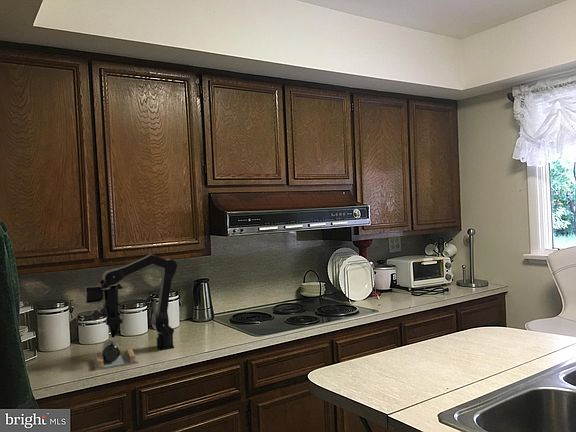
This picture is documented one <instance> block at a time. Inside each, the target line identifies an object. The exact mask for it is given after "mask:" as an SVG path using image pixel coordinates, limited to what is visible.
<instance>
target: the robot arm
mask: <svg viewBox="0 0 576 432" xmlns="http://www.w3.org/2000/svg"><path fill="white" fill-rule="evenodd" d="M151 265H154V266H157V267H160V269H159V271H160V277H161V283H160V288H159V295H158V302H157V309H156V311H155V313H151V321H150V323H151V326H152V328H153V329H154V330H155V331H156V333H157V337H155V341H156V342H155V344H156V348H158V350H160V351H161V350H167V349H168V348H169V349H173V348H175V346H174V336H173V335H174V332H175V329H174V328H172V327H171V326H170V321H169V320H170V319H169V314H168V313H169V312H168V309H169V302H170V296H171V295H170V294H171V288H172V281H173V279H174V276H175V275H176V273H177V269H178V263H177V262H176V260H174V259H170V258H165V259H164V258H161V257H160V256H157V255H155V254H152V253H149V254H147V255H146V256H144V257H141V258H140V259H137V260H135V261H133V262H131V263H128V264H126V265H123V266H121V267H117V268H112V269H108V270H106V271H104V272H103V274H102V277H101V278H102V279H101V280H100V282H99V283H98V284H97V285H95V286H86V287H85V289H84V302H85V304H86V305H87V304H93V303H101V302H102V300H103V299H104V301H103V304H102V305H103V306H100V307H99V308H97V309H94V310H92V311H91V312H90V316H91V318H92V320H93V322H95V321H97V320H98V319H100V318H103V319H104V320H103V321H104V323H105V325H106V326H108V328H109V332H110V337H111V338H115V336H116V334H117V332H118V330H119V327H120V326H121V325H120V324H123V317H122V316H121V312H120V306H121V305H120V300H119V299H120V297H119V296H120V294H119V290H123V289H124V287H123V286H122V285H121V284H120V282H121V281H122V280H124V278H126V277H127V276H129V275H131V274H133V273H135V272H137V271H140V270H142V269H144V268H147V267H148V266H151Z"/></svg>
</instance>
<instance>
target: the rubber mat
mask: <svg viewBox="0 0 576 432" xmlns="http://www.w3.org/2000/svg"><path fill="white" fill-rule="evenodd" d="M102 358H103V357H102ZM103 364H104V367H102V368H98V365H97V360H96V358H93V365H94V370H95V371H97V370H98V371H99V370H103V369H104V370H105V369H110V368H116V367H124V366H129V365H134V364H136V365H137V364H139V361H138V358H137V356H136V355H135V362H133V363H130V361H129V359H128V356H127V353H126V354H121V355H119V357H118V358H117V359H116V360H115V361H113V362H109V361H106V360H104V358H103Z"/></svg>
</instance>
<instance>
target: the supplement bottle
mask: <svg viewBox="0 0 576 432" xmlns="http://www.w3.org/2000/svg"><path fill="white" fill-rule="evenodd" d="M101 354H102V358H104V360H106V361H109V362H113V361H115V360H116V359H117V358H118V357H119V355H120V354H121V351H120V346H119V343H118V342H117V341H115V340H114V339H109V340H106V341H105V342H104V343H103V344H102V345H101Z"/></svg>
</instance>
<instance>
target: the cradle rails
mask: <svg viewBox="0 0 576 432" xmlns="http://www.w3.org/2000/svg"><path fill="white" fill-rule="evenodd" d="M125 350H126V351H125V352H126V354H127V356H128V359H129V361H130V363H133V362H135V356H136V355H135V352H134V351H133V348H132V347H128V348H126V349H125ZM95 359H96V360H97V365H98V368H102V367H104V364H103V356H102V351H101V352H95Z"/></svg>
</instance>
